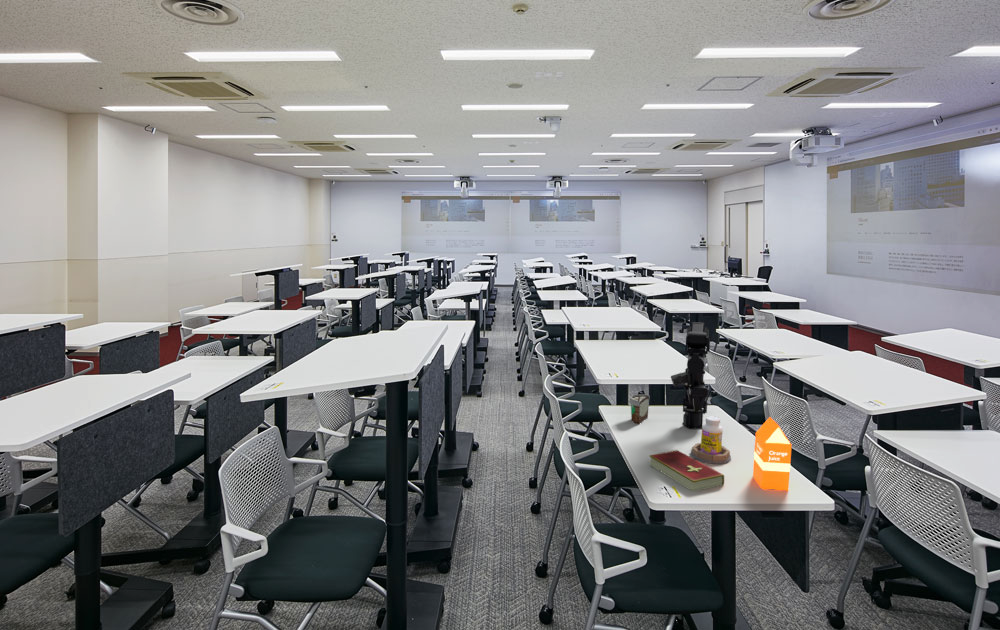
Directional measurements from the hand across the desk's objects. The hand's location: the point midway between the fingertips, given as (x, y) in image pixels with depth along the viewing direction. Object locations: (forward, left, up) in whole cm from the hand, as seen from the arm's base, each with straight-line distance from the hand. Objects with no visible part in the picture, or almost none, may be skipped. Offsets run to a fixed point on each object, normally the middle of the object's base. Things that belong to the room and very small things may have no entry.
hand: (693, 407), depth 197 cm
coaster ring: (0, +14, -13) cm, 19 cm away
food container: (+12, -26, -13) cm, 32 cm away
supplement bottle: (0, +14, -12) cm, 19 cm away
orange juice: (-8, +36, -13) cm, 39 cm away
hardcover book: (+15, +27, -14) cm, 34 cm away
